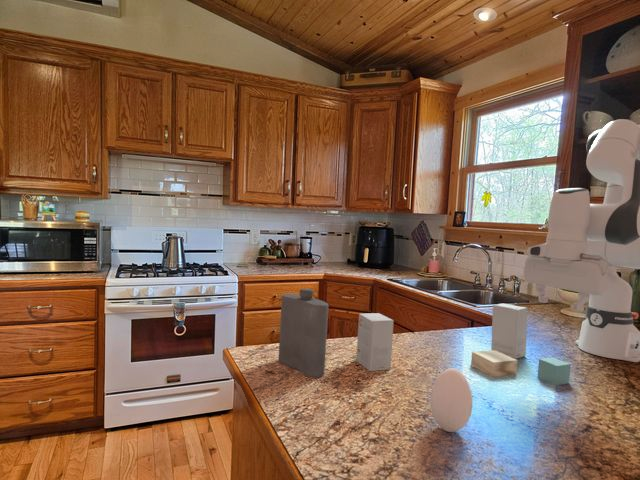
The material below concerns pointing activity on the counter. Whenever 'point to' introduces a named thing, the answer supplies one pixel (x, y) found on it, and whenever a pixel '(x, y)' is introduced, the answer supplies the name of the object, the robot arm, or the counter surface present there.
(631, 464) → the counter surface
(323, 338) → the flask
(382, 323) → the small box
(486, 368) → the maple block
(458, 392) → the egg
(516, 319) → the skincare box
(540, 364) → the teal cube
